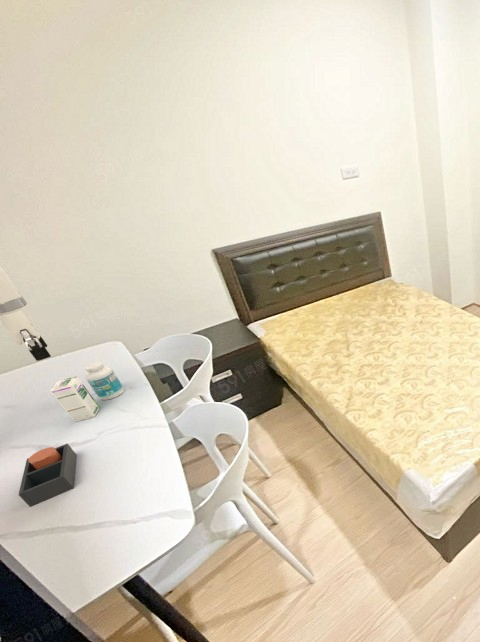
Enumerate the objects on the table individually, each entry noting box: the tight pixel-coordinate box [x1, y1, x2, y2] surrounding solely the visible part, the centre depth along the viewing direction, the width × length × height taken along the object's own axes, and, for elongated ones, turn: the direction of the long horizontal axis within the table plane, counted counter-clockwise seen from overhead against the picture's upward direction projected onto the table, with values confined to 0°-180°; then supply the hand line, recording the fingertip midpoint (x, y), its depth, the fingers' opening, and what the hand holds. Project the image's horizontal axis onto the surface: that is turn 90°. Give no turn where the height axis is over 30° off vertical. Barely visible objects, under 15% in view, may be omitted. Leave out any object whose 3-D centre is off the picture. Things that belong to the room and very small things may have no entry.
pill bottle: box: [84, 361, 125, 401], centre depth 147 cm, size 8×7×14 cm
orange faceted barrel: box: [27, 446, 62, 470], centre depth 116 cm, size 6×6×7 cm
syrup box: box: [49, 376, 101, 423], centre depth 137 cm, size 6×6×14 cm
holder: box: [18, 443, 78, 508], centre depth 114 cm, size 9×17×6 cm, turn 41°
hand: (42, 353), depth 125 cm, fingers open, 9 cm apart
